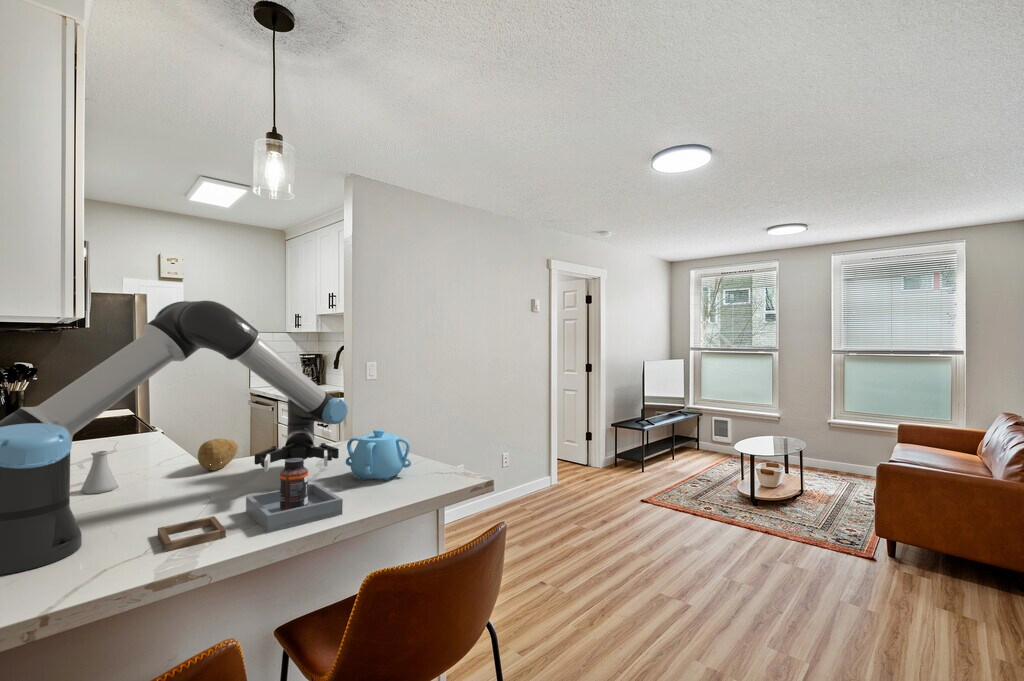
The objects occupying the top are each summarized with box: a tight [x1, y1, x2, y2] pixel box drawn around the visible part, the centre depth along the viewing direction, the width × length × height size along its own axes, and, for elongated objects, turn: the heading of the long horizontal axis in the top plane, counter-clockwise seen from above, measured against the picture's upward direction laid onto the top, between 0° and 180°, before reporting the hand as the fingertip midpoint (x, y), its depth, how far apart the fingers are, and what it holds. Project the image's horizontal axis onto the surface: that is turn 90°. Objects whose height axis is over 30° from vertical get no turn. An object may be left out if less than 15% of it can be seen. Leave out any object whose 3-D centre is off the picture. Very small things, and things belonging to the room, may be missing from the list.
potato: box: [197, 438, 239, 471], centre depth 148 cm, size 9×16×9 cm, turn 4°
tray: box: [245, 482, 344, 533], centre depth 112 cm, size 16×16×4 cm
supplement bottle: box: [279, 458, 309, 511], centre depth 112 cm, size 6×6×11 cm
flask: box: [79, 450, 119, 495], centre depth 125 cm, size 7×7×10 cm
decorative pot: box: [345, 428, 412, 481], centre depth 142 cm, size 16×16×14 cm
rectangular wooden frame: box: [157, 515, 227, 553], centre depth 98 cm, size 10×10×2 cm
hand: (296, 463), depth 120 cm, fingers open, 13 cm apart
